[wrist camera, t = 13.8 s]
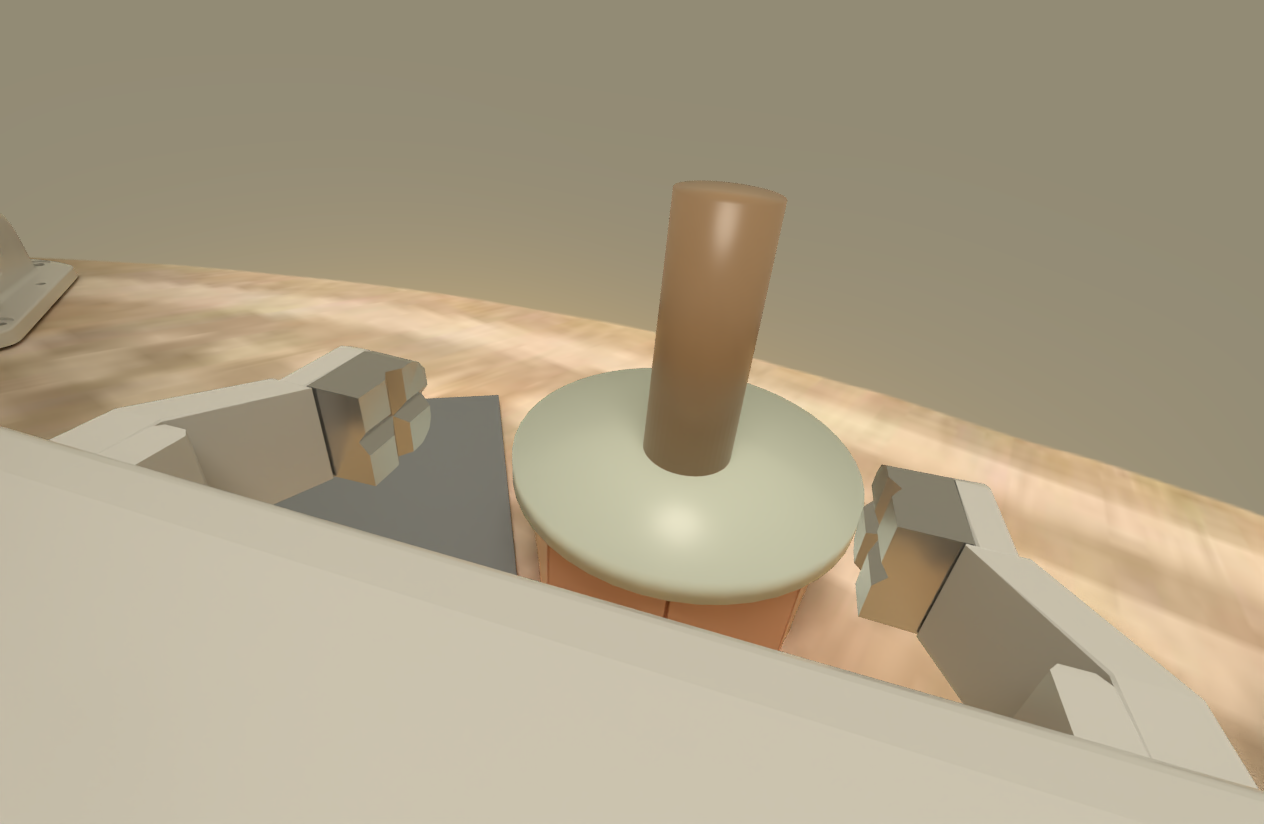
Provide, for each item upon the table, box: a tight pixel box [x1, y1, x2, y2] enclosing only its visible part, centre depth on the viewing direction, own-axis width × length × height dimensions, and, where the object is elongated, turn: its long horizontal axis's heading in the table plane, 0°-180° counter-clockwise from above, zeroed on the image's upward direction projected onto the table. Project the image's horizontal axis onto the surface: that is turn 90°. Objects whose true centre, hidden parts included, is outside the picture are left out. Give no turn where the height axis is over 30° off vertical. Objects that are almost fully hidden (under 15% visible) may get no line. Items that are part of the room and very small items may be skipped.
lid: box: [512, 181, 864, 605], centre depth 21 cm, size 14×14×11 cm
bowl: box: [535, 532, 809, 651], centre depth 26 cm, size 12×12×6 cm
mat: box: [273, 395, 517, 575], centre depth 30 cm, size 16×16×1 cm
